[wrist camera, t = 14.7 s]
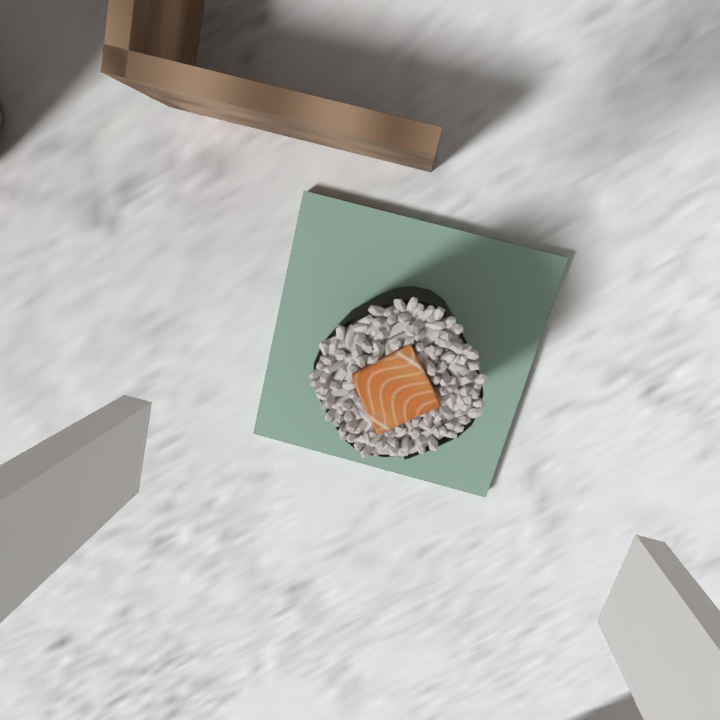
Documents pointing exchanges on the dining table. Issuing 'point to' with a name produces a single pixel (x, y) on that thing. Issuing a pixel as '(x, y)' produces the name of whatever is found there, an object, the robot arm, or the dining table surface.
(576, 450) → the dining table surface
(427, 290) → the sushi
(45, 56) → the dining table surface
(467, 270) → the mat
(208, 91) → the frame
